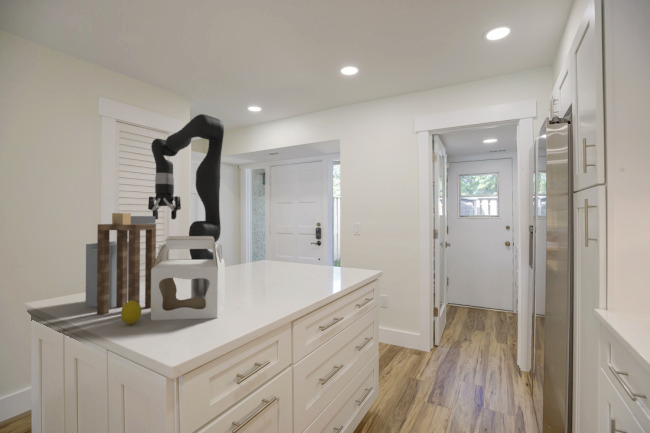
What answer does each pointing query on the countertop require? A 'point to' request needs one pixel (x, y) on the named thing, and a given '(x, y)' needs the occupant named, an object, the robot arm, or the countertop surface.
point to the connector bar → (131, 219)
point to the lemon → (131, 312)
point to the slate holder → (92, 274)
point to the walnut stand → (124, 264)
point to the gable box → (166, 270)
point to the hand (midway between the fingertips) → (164, 219)
